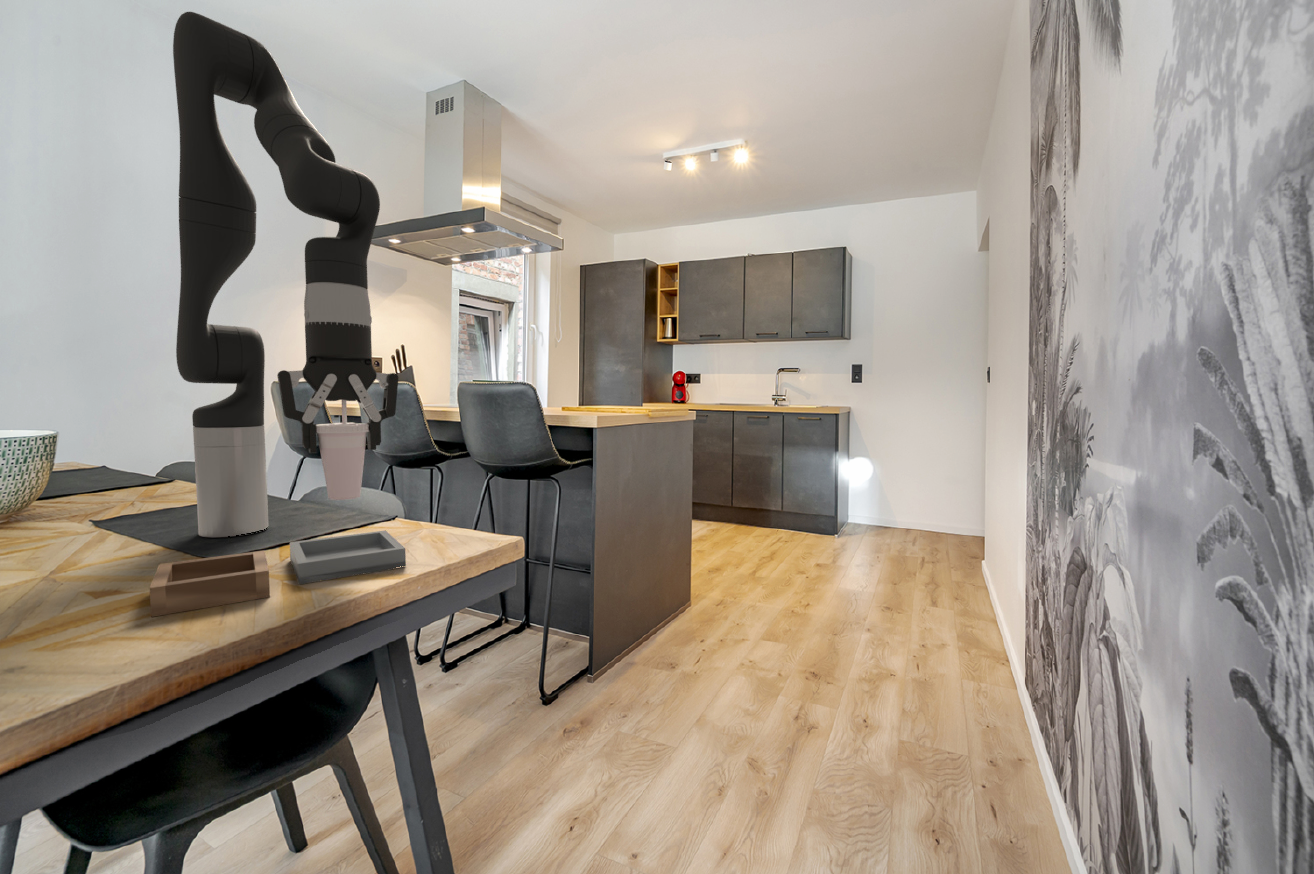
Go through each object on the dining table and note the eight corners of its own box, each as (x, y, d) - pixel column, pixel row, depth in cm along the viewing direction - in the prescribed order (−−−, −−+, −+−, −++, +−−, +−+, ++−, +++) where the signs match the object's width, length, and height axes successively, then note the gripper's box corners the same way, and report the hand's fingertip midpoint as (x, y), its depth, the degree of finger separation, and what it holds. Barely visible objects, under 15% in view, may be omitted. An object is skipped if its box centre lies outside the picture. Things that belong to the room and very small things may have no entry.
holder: (160, 589, 66) (159, 563, 66) (265, 573, 72) (264, 550, 72) (151, 616, 58) (149, 588, 58) (269, 596, 64) (268, 570, 64)
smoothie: (381, 493, 79) (378, 391, 78) (352, 502, 72) (348, 391, 71) (337, 492, 79) (334, 391, 78) (304, 501, 73) (300, 391, 72)
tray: (290, 560, 78) (289, 542, 78) (385, 546, 85) (385, 530, 85) (298, 584, 68) (298, 563, 68) (405, 566, 75) (405, 548, 75)
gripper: (391, 329, 81) (395, 446, 83) (270, 321, 73) (275, 451, 74) (404, 324, 75) (407, 450, 77) (273, 315, 67) (279, 456, 68)
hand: (342, 450), depth 75 cm, fingers closed on smoothie, 6 cm apart
